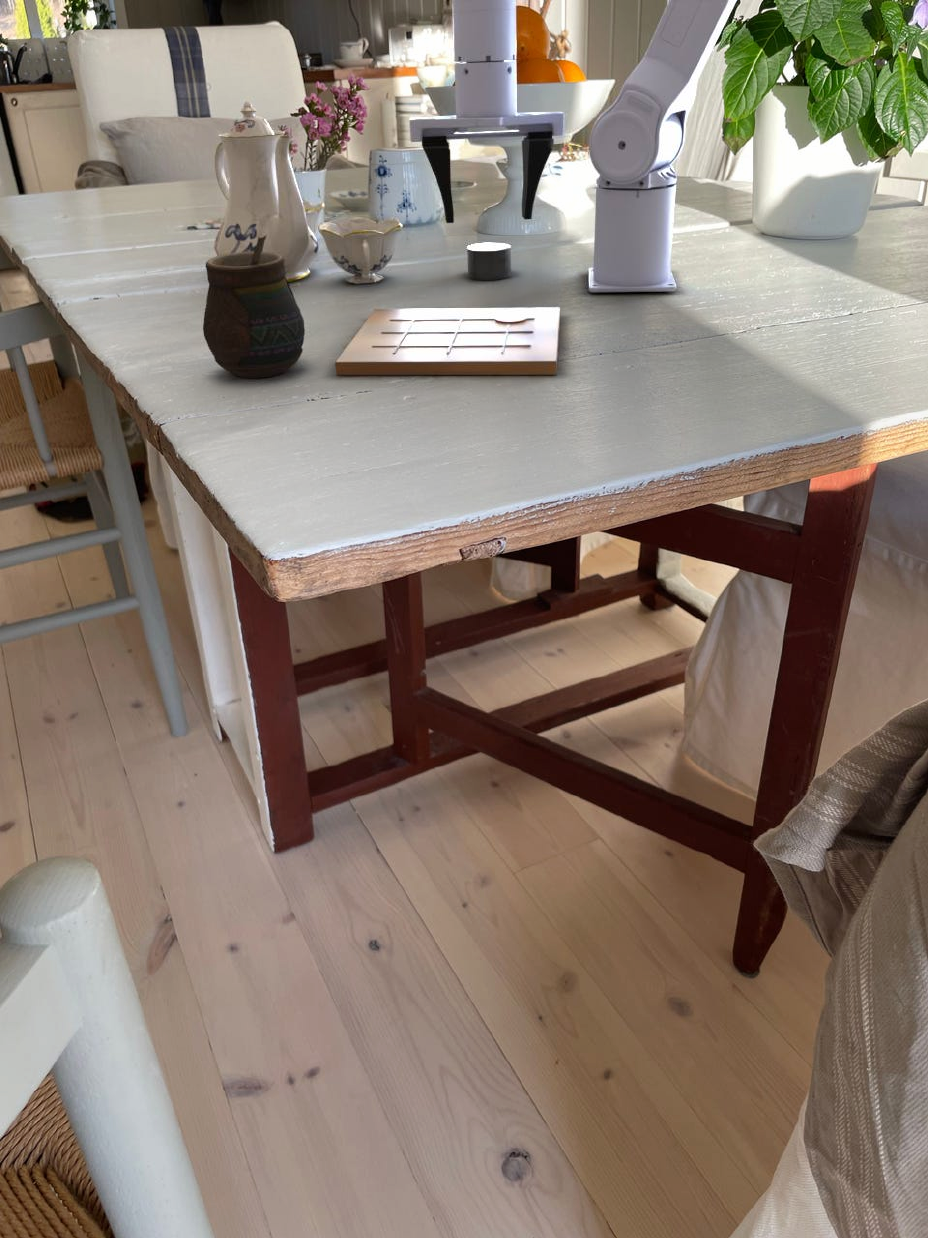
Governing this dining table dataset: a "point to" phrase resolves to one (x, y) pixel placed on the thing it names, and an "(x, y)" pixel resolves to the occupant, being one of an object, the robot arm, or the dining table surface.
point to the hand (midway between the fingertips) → (488, 219)
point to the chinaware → (288, 208)
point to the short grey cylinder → (489, 261)
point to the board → (455, 342)
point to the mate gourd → (252, 314)
